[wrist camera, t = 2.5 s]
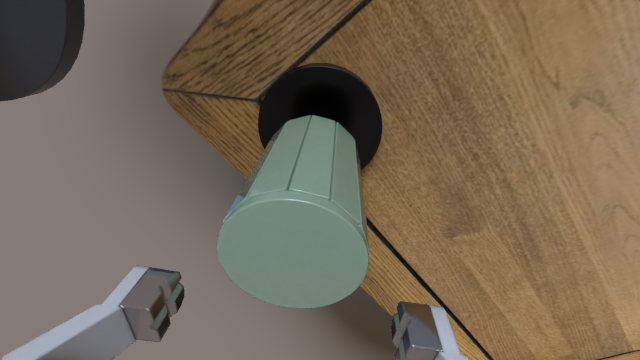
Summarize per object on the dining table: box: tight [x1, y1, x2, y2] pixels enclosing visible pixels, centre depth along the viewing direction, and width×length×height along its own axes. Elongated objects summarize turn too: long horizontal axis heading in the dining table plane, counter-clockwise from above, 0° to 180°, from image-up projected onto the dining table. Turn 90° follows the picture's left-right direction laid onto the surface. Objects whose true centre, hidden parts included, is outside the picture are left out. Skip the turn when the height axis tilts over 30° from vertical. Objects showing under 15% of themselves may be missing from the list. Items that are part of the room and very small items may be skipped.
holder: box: [258, 63, 382, 170], centre depth 19 cm, size 11×11×16 cm
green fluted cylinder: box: [217, 115, 370, 309], centre depth 16 cm, size 6×6×10 cm
